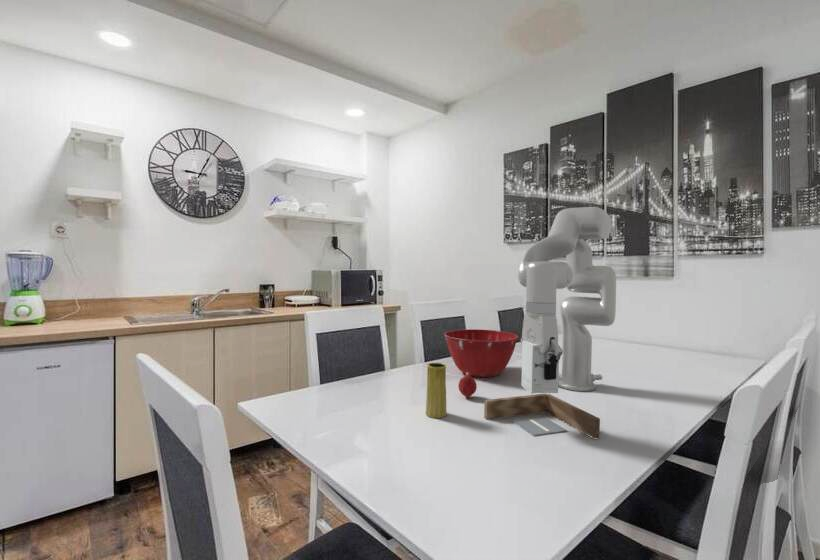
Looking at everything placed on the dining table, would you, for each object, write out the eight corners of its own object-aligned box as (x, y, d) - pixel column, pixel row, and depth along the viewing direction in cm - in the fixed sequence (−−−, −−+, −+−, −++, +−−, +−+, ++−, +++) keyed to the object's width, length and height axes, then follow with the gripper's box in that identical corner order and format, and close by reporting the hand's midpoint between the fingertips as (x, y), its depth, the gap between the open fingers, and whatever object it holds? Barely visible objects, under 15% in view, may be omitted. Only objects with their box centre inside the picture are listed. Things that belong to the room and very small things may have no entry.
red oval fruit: (476, 401, 130) (476, 375, 129) (457, 399, 131) (457, 374, 130) (476, 395, 135) (477, 371, 135) (459, 394, 136) (459, 370, 136)
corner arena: (547, 410, 122) (547, 393, 122) (599, 438, 102) (599, 418, 102) (484, 417, 116) (484, 400, 115) (526, 449, 96) (526, 428, 96)
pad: (543, 417, 116) (543, 416, 116) (567, 431, 106) (567, 430, 106) (512, 421, 113) (512, 420, 113) (533, 436, 103) (533, 434, 103)
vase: (432, 419, 114) (432, 368, 113) (421, 412, 119) (421, 363, 119) (451, 416, 117) (451, 366, 116) (439, 409, 122) (440, 361, 122)
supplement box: (531, 394, 105) (532, 345, 105) (520, 385, 113) (521, 339, 112) (559, 393, 106) (560, 344, 105) (547, 385, 113) (547, 339, 113)
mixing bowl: (465, 361, 183) (465, 326, 182) (528, 371, 166) (529, 332, 166) (430, 374, 160) (430, 335, 159) (499, 388, 143) (500, 343, 143)
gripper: (510, 306, 116) (509, 368, 116) (549, 313, 99) (547, 385, 100) (533, 305, 118) (532, 366, 118) (575, 312, 101) (573, 382, 102)
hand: (539, 374), depth 109 cm, fingers closed on supplement box, 8 cm apart
